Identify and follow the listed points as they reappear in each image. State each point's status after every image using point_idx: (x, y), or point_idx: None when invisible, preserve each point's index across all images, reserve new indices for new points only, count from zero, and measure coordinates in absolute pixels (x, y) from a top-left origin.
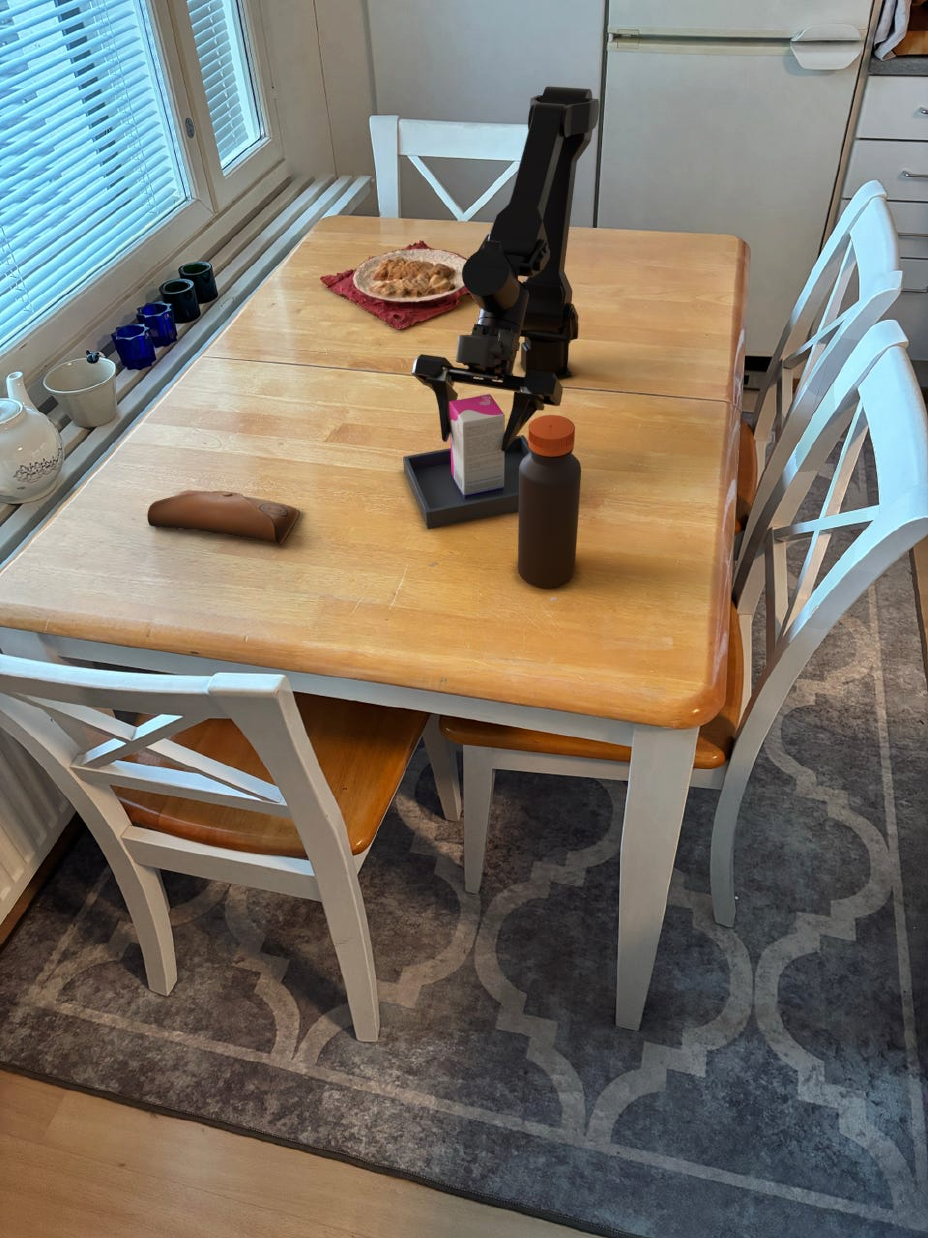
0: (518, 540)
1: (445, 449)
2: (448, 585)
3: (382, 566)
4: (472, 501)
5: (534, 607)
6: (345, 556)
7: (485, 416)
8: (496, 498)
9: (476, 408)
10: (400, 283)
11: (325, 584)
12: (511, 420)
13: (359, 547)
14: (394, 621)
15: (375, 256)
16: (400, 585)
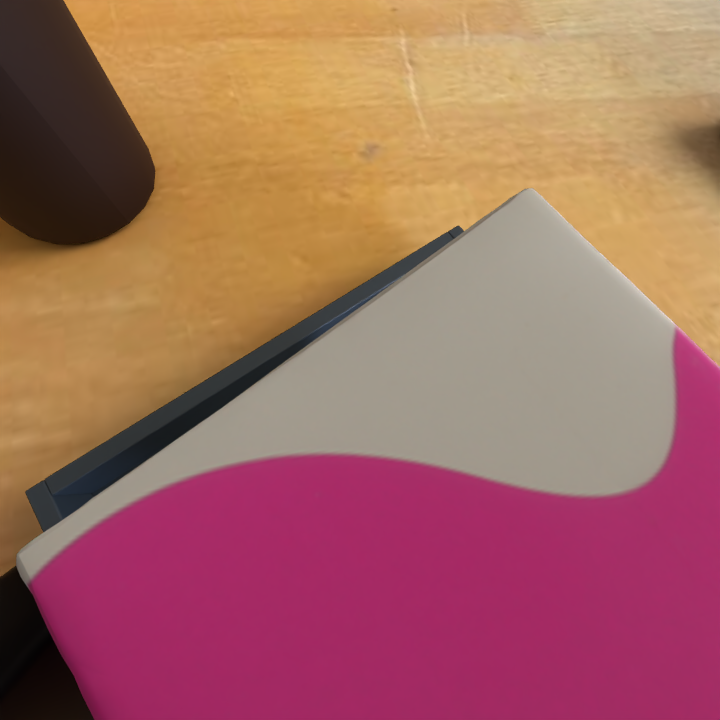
0: (97, 66)
1: None
2: (311, 102)
3: (477, 123)
4: (337, 312)
5: None
6: (571, 133)
7: (315, 404)
8: (258, 351)
9: (537, 587)
10: None
11: (556, 59)
12: (13, 622)
13: (561, 164)
14: (378, 8)
15: None
16: (411, 84)
